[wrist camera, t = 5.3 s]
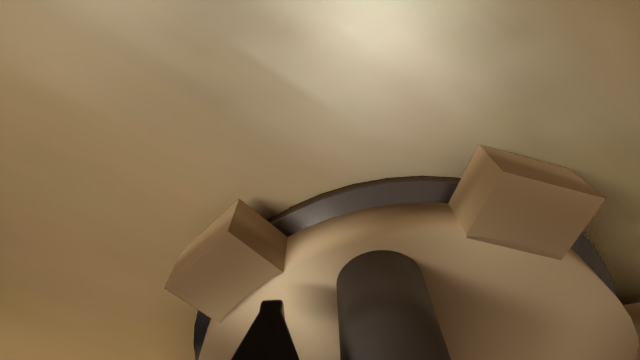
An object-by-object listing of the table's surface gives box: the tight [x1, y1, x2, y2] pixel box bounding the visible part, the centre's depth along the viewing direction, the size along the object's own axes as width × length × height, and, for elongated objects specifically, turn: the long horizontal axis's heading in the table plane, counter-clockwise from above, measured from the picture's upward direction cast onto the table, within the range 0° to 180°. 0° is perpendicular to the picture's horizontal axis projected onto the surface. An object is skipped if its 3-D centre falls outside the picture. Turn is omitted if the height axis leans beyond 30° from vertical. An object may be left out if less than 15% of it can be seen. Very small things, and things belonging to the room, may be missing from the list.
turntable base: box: [194, 176, 616, 360], centre depth 16 cm, size 16×16×1 cm
